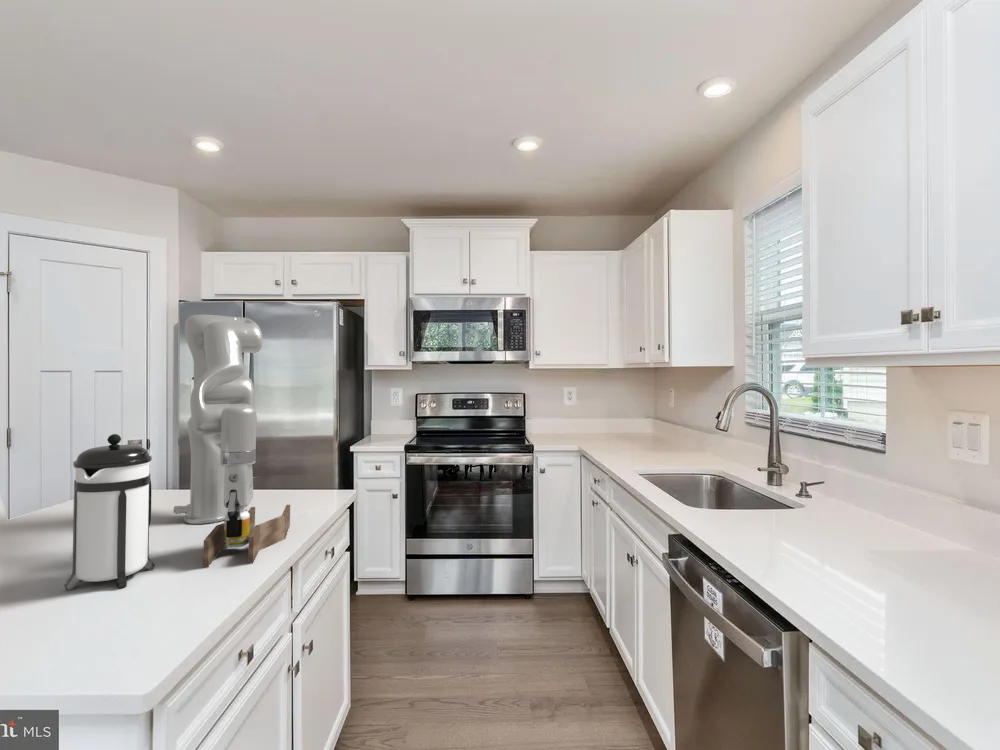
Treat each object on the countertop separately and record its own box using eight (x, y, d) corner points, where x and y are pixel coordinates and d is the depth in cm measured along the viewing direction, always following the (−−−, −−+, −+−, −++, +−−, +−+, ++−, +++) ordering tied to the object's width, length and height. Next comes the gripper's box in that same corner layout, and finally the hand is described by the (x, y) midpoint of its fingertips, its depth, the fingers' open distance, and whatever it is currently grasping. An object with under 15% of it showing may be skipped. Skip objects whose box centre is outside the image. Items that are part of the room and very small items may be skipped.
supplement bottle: (254, 542, 121) (255, 502, 121) (235, 549, 116) (236, 508, 116) (237, 539, 122) (238, 500, 122) (218, 546, 117) (219, 505, 117)
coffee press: (169, 577, 103) (172, 434, 104) (69, 601, 92) (72, 440, 92) (149, 556, 115) (151, 427, 115) (58, 575, 104) (60, 432, 104)
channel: (203, 567, 109) (203, 540, 109) (230, 530, 135) (231, 508, 135) (277, 561, 113) (277, 534, 113) (289, 525, 140) (290, 504, 140)
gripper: (248, 463, 112) (247, 543, 112) (261, 451, 128) (259, 521, 128) (211, 464, 110) (210, 546, 110) (228, 452, 126) (227, 523, 126)
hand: (236, 531), depth 119 cm, fingers closed on supplement bottle, 5 cm apart
